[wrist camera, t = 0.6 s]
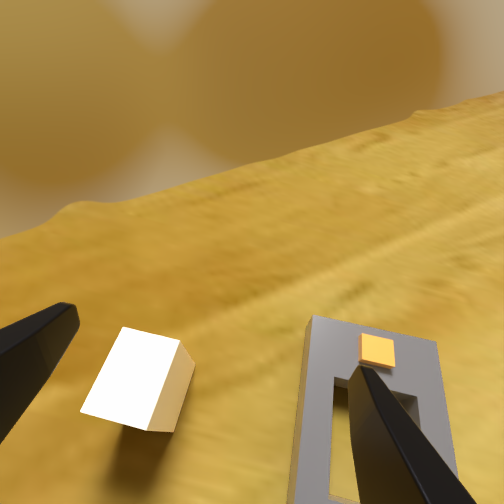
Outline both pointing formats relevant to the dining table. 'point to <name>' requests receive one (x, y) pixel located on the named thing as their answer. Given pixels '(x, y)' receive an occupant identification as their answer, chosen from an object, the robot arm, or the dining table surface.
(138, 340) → the plug
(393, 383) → the power strip
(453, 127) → the dining table surface
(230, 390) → the dining table surface
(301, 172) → the dining table surface
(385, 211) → the dining table surface
